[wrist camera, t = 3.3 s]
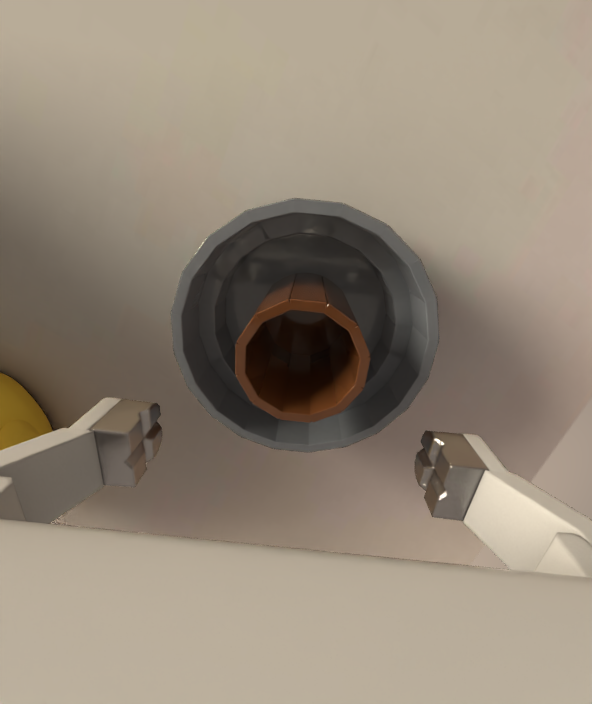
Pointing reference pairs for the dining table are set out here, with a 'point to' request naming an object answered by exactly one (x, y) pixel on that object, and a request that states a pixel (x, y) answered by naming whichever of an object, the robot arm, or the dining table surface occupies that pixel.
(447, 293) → the dining table surface
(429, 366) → the grey round tub
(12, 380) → the teapot
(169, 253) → the dining table surface
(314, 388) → the cup
